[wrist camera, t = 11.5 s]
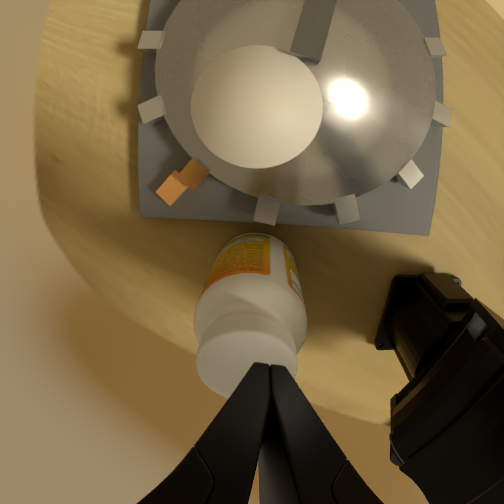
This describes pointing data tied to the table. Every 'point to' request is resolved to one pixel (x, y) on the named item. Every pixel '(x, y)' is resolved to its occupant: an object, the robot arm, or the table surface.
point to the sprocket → (296, 97)
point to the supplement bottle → (249, 312)
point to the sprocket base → (243, 205)
